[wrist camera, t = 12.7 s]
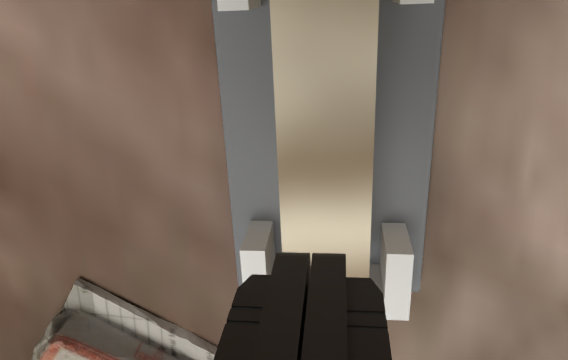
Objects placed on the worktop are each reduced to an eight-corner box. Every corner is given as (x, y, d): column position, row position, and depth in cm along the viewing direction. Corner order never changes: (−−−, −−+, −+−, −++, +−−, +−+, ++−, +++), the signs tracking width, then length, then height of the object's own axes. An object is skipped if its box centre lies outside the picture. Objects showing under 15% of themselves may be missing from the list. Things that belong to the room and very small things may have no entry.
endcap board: (208, -98, 20) (178, -116, 16) (450, -114, 19) (476, -137, 15) (241, 275, 27) (226, 321, 24) (416, 280, 26) (429, 329, 22)
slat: (284, -43, 20) (266, -50, 15) (371, -48, 19) (381, -56, 15) (294, 246, 25) (284, 305, 20) (362, 247, 25) (367, 308, 20)
